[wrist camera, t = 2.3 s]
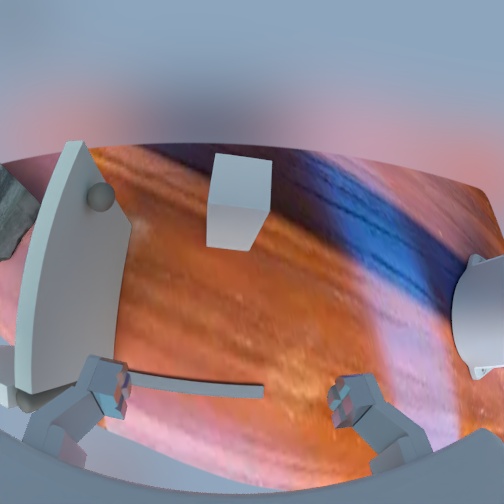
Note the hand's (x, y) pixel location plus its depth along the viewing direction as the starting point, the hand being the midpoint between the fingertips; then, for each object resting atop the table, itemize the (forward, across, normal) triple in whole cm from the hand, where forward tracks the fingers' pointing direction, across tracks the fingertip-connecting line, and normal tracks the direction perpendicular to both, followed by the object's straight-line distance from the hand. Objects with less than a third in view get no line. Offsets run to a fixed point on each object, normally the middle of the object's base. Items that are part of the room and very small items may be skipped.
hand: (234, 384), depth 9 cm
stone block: (+18, +30, +2) cm, 35 cm away
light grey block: (+18, 0, +2) cm, 18 cm away
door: (+12, +10, +7) cm, 17 cm away
